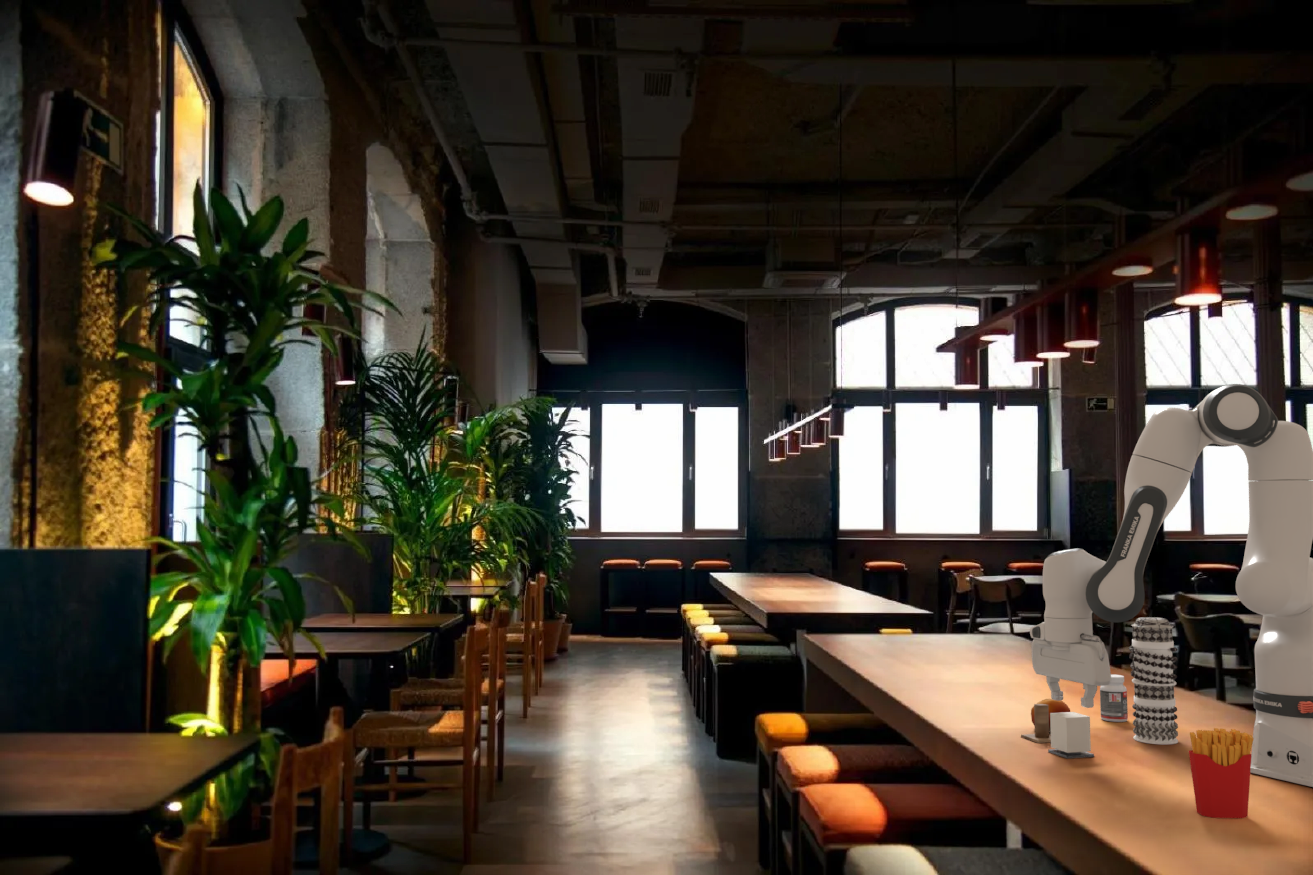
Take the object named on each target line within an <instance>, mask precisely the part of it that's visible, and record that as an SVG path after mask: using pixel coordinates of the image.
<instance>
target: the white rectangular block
mask: <svg viewBox="0 0 1313 875" xmlns="http://www.w3.org/2000/svg"><path fill="white" fill-rule="evenodd" d="M1050 725H1051V732H1050V735H1051V742H1050V748H1052V749H1058V750H1061V751H1064V752H1066V753H1072V752H1091V750H1092V749H1091V748H1092V747H1091V746H1092V745H1091V716H1089V715H1086V714H1082V713H1080V712H1075V711H1070V712H1061V713H1050Z"/></svg>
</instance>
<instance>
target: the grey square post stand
mask: <svg viewBox="0 0 1313 875" xmlns="http://www.w3.org/2000/svg"><path fill="white" fill-rule="evenodd" d="M1047 751H1048V752H1047V753H1050V754H1053V755H1055V756H1058V757H1061V758H1064V759H1066V760H1067V759H1079V758H1081V759H1082V758H1093V757H1095V754H1094V753H1092V752H1090V751H1087V752H1072V753H1066V752H1064V751H1061V750H1058V749H1055V748H1052V749H1051V748H1050V749H1049V748H1048V749H1047Z"/></svg>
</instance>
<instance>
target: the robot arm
mask: <svg viewBox="0 0 1313 875" xmlns="http://www.w3.org/2000/svg"><path fill="white" fill-rule="evenodd" d="M1234 446H1238V447H1239V448H1240V449H1241V451H1243V453H1244V455H1245V458H1246V462H1247V466H1248V470H1247V472H1248V473H1247V474H1248V476H1247V478H1248V481H1247V482H1248V483H1247V484H1248V508H1249V510H1248V511H1249V512H1248V514H1249V515H1248V516H1249V520H1248V521H1249V523H1248V531H1247V536H1246V543H1245V549H1244V556H1243V562H1242V565H1241V570H1240V571H1239V573H1238V574H1237V577H1236V581H1235V592H1236V594H1237V597H1238V599H1239V601H1240V603H1241V604H1242V605H1243V606H1245V608H1247V609H1248V610H1250V611H1252V612H1253V613H1256V614H1258V615H1261V616H1262V619H1261V625H1260V630H1259V634H1258V637H1257V641H1256V642H1255V644H1254V668H1255V669H1254V670H1255V688H1254V689H1253V696H1252V700H1253V708H1254V709H1255V712H1256V713H1255V720H1254V724H1253V731H1252V737H1253V738H1254V739H1253V743H1252V747H1251V752H1250V754H1252V755H1251V770H1250V774H1255V775H1260V776H1264V777H1268V778H1272V779H1277V780H1281V781H1286V782H1290V783H1294V784H1298V785H1302V786H1307V787H1312V788H1313V557H1310V556H1311V551H1312V550H1311V549H1312V544H1313V446H1312V442H1311V437H1310V435H1309V432H1308V431H1307V429H1305V428H1304V427H1303V426H1302V425H1300V424H1298V423H1296V422H1292V421H1287V420H1279V418H1278V417H1277V415H1276V414H1275V413H1274V411H1273V410H1272V408H1271V407H1270V405H1269V404H1268V402H1267V401H1266V399H1265V398H1264V397H1263V396H1262V395H1261V393H1260V392H1258V391H1257V390H1256V389H1254V388H1253V387H1251V386H1248V385H1246V384H1240V383H1231V384H1226V385H1223V386H1220V387H1218V388H1216V389H1214V390H1212V391H1211V392H1210V393H1208V394H1207V395H1206V396H1205V397H1204V398H1203V400H1201V401H1200V402H1199V403H1198V404H1197V405H1196V406H1194V407H1193V408H1192V409H1189V410H1188V409H1182V408H1181V407H1180V408H1179V407H1164V408H1160V409H1158V410H1157V411H1155V412H1153V414H1152V415H1151V417H1150V418H1149V419H1148V422H1147V424H1146V425H1145V426H1144V428H1143V429H1142V432H1141V434H1140V436H1139V438H1138V440H1137V443H1136V444H1135V447H1134V449H1133V452H1132V455H1131V457H1130V461H1129V462H1128V467H1127V471H1126V475H1125V482H1124V489H1123V490H1124V491H1123V493H1124V494H1123V495H1124V512H1123V518H1122V521H1121V524H1120V527H1119V530H1118V532H1117V535H1116V538H1115V541H1114V544H1113V546H1112V550H1111V552H1110V554H1109V557H1108V558H1107V560H1106V561H1105V560H1102V559H1101V558H1098V557H1097V556H1094V555H1092V554H1090V553H1088V552H1087V551H1086V550H1084V549H1083V548H1078V547H1077V548H1070V549H1063V550H1058V551H1054V552H1052V553H1050V554H1048V555H1047V557H1046V558H1045V559H1044V562H1043V566H1042V568H1043V569H1042V595H1043V600H1044V601H1045V610H1044V612H1043V613H1044V614H1043V619H1044V621H1042V622H1041V623H1039V624H1037V625H1034V626H1032V627H1030V629H1029V634H1030V638H1031V639H1033V640H1032V642H1031V646H1030V647H1031V648H1030V649H1031V661H1032V662H1031V663H1032V668H1033V670H1034V673H1035V674H1036V675H1040V676H1045V677H1046V683H1047V686H1048V688H1049V691H1050V697H1051V698H1050V699H1053V700H1057V701H1059V700H1061V701H1063V700H1064V690H1063V691H1062V690H1061V686H1060V684H1059V683H1060V681H1061V680H1064V681H1068V682H1069V681H1070V682H1073V683H1074V682H1075V683H1079V684H1082V688H1083V690H1084V693H1083V697H1082V696H1081V697H1080V706H1081V707H1083V708H1085V709H1086V708H1087V709H1088V708H1090V709H1091V708H1094V702H1095V701H1094V698H1095V697H1096V693H1097V691H1098V687H1101V686H1104V685H1109V683H1110V681H1111V674H1112V672H1111V665H1110V660H1109V654H1108V651H1107V649H1106V646H1105V643H1104V642H1103V641H1102V639H1101V637H1100V636H1098V635H1094V634H1093V633H1094V630H1093V613H1094V615H1095V616H1097V617H1098V618H1100V620H1101V619H1102V620H1104V621H1106V622H1110V623H1123V622H1128V621H1129V620H1132V619H1133V618H1134V617H1136V616H1137V615H1138V614H1139V613H1140V612H1141V611H1142V608H1143V607H1144V604H1145V599H1146V597H1145V596H1146V594H1145V585H1144V572H1145V567H1146V565H1147V561H1148V558H1149V556H1150V553H1151V551H1152V548H1153V545H1154V542H1155V539H1156V537H1157V534H1158V532H1159V530H1160V527H1161V526H1162V524H1163V522H1164V521H1165V520H1166V519H1167V517H1168V515H1169V514H1171V512H1172V511H1173V510H1174V508H1175V507H1176V505H1177V504H1178V503H1179V501H1180V499H1181V497H1182V496H1183V494H1184V492H1185V490H1186V489H1187V486H1188V485H1189V482H1190V479H1191V476H1192V474H1193V472H1194V469H1195V466H1196V463H1197V460H1198V459H1199V458H1198V457H1199V456H1200V455H1201V453H1202V451H1203V450H1204V448H1206V447H1218V448H1219V447H1222V448H1223V447H1234Z"/></svg>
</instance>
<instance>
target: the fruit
mask: <svg viewBox="0 0 1313 875" xmlns="http://www.w3.org/2000/svg"><path fill="white" fill-rule="evenodd" d="M1036 704H1046V705H1048V711H1049V733H1051V725H1050V713H1061V712H1071V708H1070V707H1069V705H1067V704H1066V703H1065V702H1064V701H1063V700H1059V701H1057V700H1053V699H1052V698H1045V699H1042V700H1041V701H1038V702H1037V703H1036ZM1030 717H1031V723H1032V724H1033V727H1035V719H1034V705H1033V706H1032V707H1031V709H1030Z"/></svg>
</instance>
